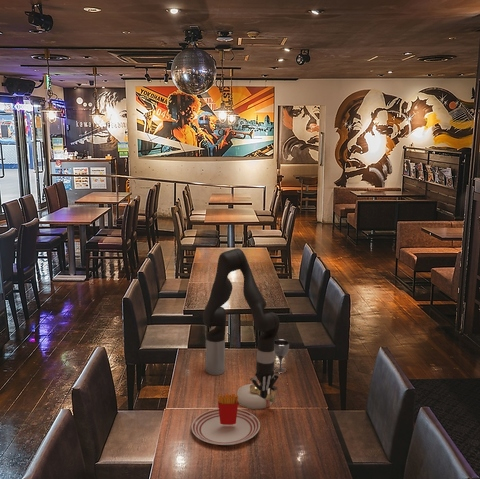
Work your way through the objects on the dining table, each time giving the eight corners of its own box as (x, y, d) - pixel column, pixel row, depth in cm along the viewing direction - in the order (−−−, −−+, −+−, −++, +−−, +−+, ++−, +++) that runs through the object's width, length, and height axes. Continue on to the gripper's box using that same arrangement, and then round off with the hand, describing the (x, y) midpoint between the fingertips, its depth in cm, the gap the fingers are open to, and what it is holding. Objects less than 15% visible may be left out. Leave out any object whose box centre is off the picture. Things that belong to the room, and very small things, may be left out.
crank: (247, 390, 239) (247, 377, 238) (255, 387, 242) (256, 374, 241) (270, 404, 228) (271, 389, 226) (279, 400, 231) (279, 386, 229)
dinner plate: (198, 455, 198) (198, 447, 198) (186, 418, 224) (186, 411, 224) (269, 445, 206) (269, 437, 205) (248, 410, 232) (249, 403, 231)
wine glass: (269, 368, 273) (270, 340, 270) (283, 366, 276) (284, 338, 273) (277, 374, 266) (278, 346, 263) (291, 372, 269) (292, 343, 266)
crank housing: (230, 399, 241) (230, 390, 240) (256, 388, 251) (256, 380, 250) (254, 413, 228) (254, 404, 228) (281, 401, 239) (281, 393, 238)
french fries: (237, 419, 218) (238, 392, 216) (238, 424, 214) (238, 396, 212) (217, 419, 218) (217, 392, 215) (216, 424, 214) (216, 396, 211)
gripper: (274, 353, 232) (272, 391, 235) (247, 358, 226) (245, 396, 229) (283, 360, 225) (281, 398, 228) (255, 365, 219) (254, 404, 222)
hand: (263, 397), depth 229 cm, fingers closed
